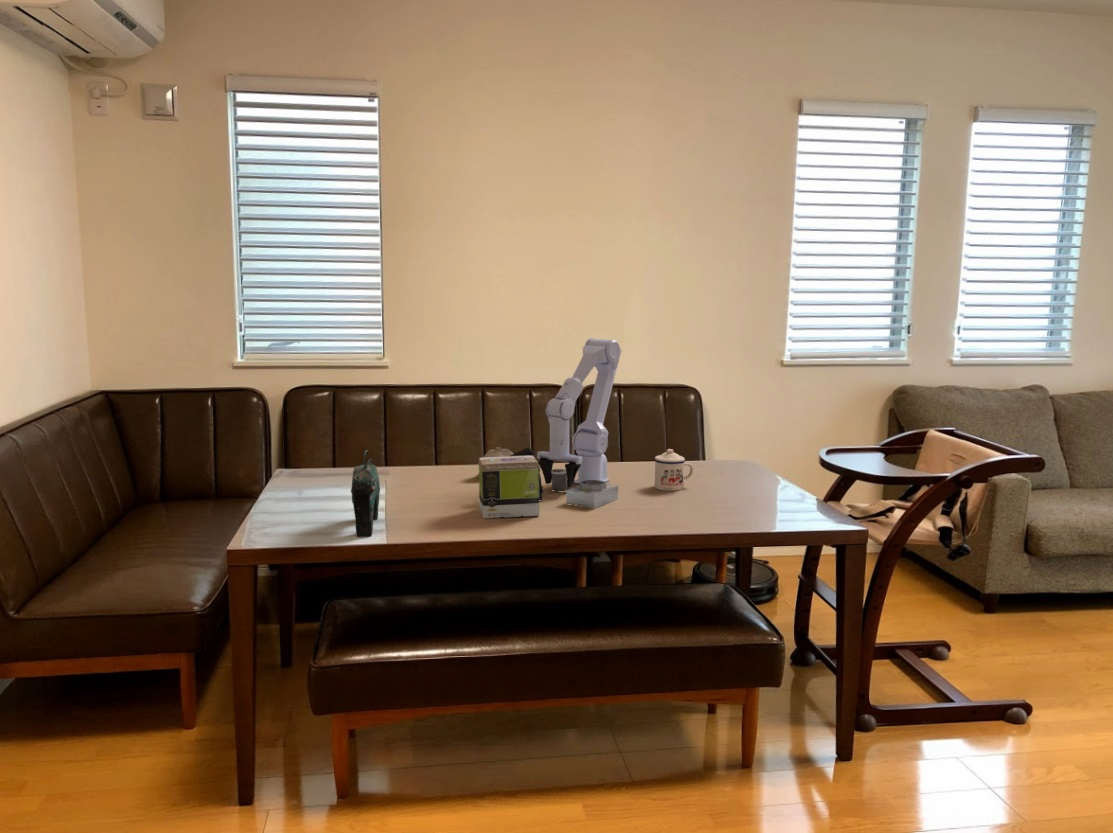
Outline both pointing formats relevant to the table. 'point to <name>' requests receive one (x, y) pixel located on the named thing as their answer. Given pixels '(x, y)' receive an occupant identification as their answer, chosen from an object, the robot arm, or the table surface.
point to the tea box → (509, 486)
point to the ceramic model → (497, 454)
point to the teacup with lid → (670, 471)
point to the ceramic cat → (365, 497)
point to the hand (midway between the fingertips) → (559, 485)
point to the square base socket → (592, 494)
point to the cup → (559, 479)
